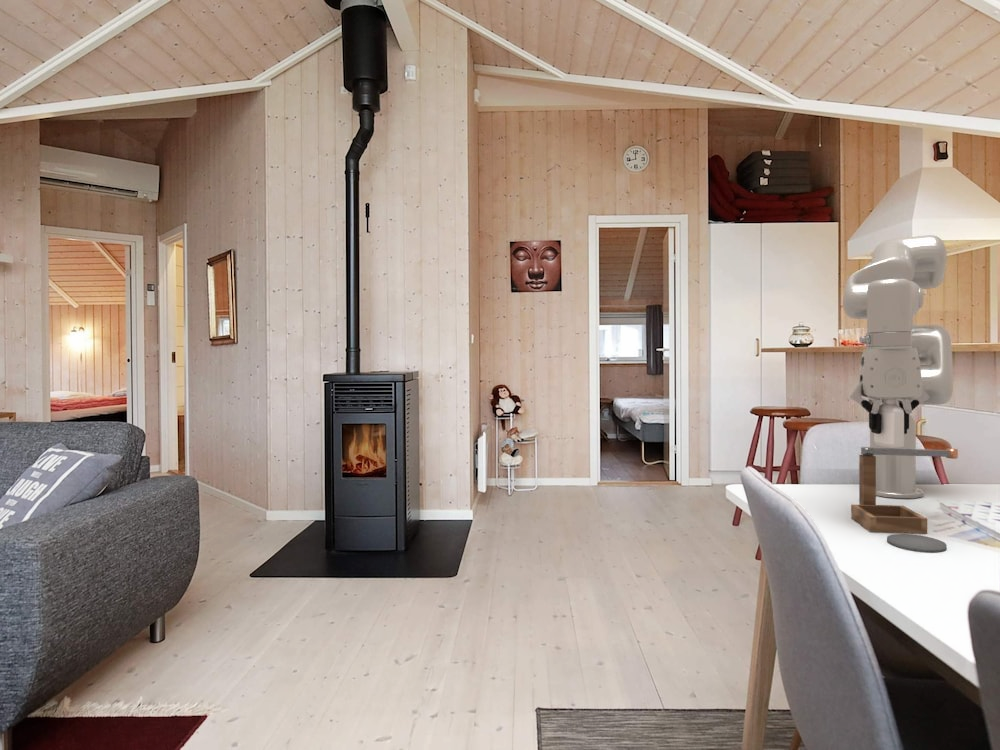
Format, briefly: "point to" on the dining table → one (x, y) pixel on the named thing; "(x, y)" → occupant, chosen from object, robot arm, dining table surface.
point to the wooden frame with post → (882, 506)
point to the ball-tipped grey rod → (910, 452)
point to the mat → (916, 543)
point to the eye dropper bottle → (890, 425)
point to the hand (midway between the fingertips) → (888, 432)
